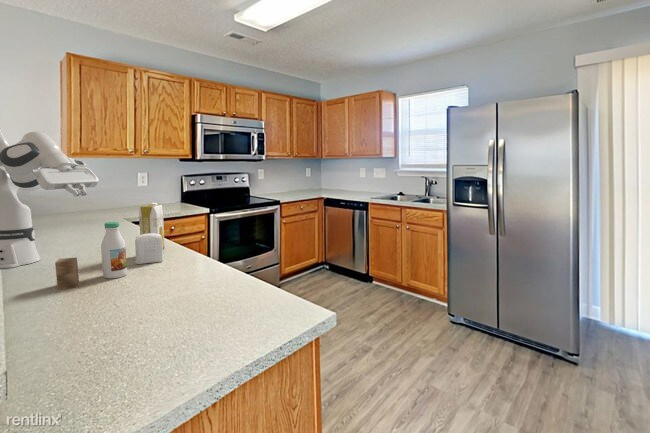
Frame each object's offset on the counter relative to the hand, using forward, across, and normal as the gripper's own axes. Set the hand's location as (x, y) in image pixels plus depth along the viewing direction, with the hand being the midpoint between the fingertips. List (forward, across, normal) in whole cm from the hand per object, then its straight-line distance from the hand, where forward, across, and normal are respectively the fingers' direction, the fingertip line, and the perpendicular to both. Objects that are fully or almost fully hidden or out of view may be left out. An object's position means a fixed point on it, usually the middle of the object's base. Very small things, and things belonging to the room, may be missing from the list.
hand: (81, 195), depth 129 cm
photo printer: (+29, +19, +13) cm, 37 cm away
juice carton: (+25, +28, +17) cm, 41 cm away
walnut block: (+26, -13, +15) cm, 33 cm away
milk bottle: (+30, 0, +11) cm, 32 cm away
